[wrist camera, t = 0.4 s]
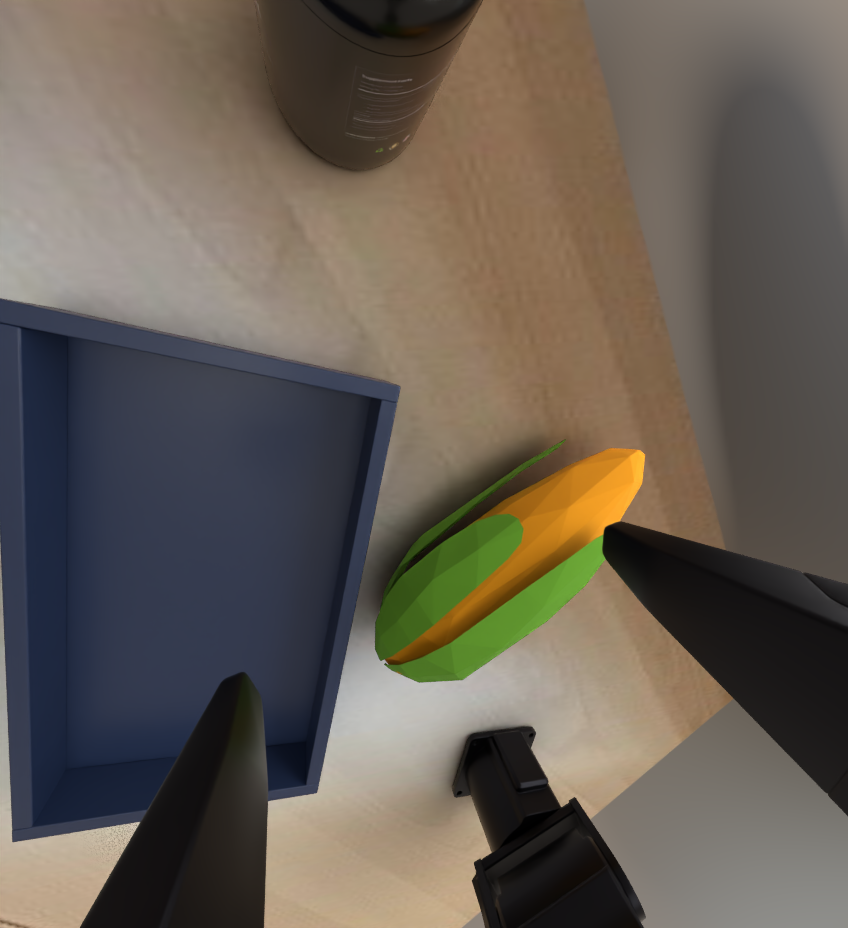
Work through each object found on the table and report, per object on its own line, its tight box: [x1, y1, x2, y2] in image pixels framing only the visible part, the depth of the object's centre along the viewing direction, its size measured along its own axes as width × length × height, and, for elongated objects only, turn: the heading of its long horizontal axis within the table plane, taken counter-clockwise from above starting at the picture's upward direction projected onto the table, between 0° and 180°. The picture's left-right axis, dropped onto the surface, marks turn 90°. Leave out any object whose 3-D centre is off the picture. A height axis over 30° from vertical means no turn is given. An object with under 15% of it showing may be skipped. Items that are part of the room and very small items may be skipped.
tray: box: [0, 298, 400, 842], centre depth 19 cm, size 26×15×3 cm, turn 167°
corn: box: [375, 440, 645, 682], centre depth 22 cm, size 7×8×20 cm
